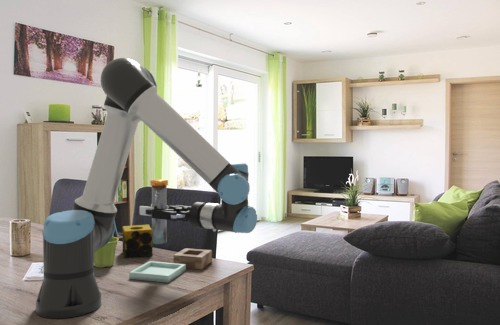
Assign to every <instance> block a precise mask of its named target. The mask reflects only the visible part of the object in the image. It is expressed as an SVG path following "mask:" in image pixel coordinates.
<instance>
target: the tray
mask: <svg viewBox="0 0 500 325" xmlns="http://www.w3.org/2000/svg"><path fill="white" fill-rule="evenodd" d="M186 271H187V268H186V264H177V263H174V262H165V261H163V262H162V261H154V260H153V261H152V260H149V261H147V262H145V263H144V264H142V265H140V266H138V267H136V268H135V269H132V270H131V271H129V273H128V274H129V275H128V276H129V279H130V280H131V279H132V280H138V281H140V280H141V281H147V282H148V281H150V282H156V283H157V282H158V283H160V282H161V283H170V282H172V281H174V280H175V279H177V277H179V276H180V275H182V274H183V273H185V272H186Z"/></svg>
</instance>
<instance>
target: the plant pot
mask: <svg viewBox="0 0 500 325" xmlns="http://www.w3.org/2000/svg"><path fill="white" fill-rule="evenodd" d="M119 240H120V239H119V237H115V236H112V238H111V239H110V240H109V242H108V243H107V244H106V245H105V246H104V247H102V248H100V249H99V250H97V251H96V252H94V267H95V268H105V267H112V266H114V264H115V258H116V257H115V256H116V250H117V245H118V241H119Z"/></svg>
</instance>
